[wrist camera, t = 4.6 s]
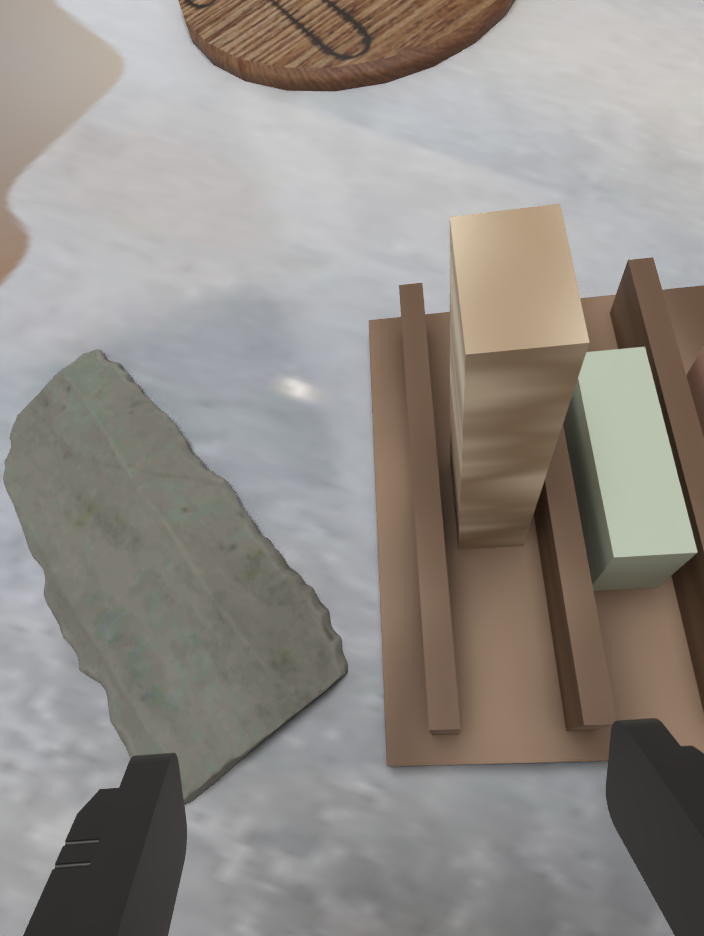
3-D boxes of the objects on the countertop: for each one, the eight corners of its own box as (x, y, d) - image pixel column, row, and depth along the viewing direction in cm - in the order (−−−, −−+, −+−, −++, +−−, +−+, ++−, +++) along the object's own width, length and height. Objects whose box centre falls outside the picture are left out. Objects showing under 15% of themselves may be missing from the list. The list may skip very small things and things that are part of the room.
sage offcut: (587, 591, 25) (613, 557, 21) (555, 411, 29) (573, 353, 25) (657, 587, 25) (697, 552, 21) (617, 406, 28) (644, 346, 24)
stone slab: (190, 822, 27) (371, 659, 27) (155, 834, 24) (355, 653, 25) (-17, 461, 36) (121, 343, 36) (-58, 443, 34) (91, 316, 34)
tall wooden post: (458, 549, 27) (465, 354, 14) (449, 461, 28) (449, 217, 16) (523, 545, 26) (589, 342, 14) (510, 456, 28) (560, 203, 15)
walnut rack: (390, 766, 25) (377, 766, 21) (371, 338, 33) (359, 271, 29) (873, 753, 23) (976, 750, 19) (725, 302, 32) (771, 225, 27)
